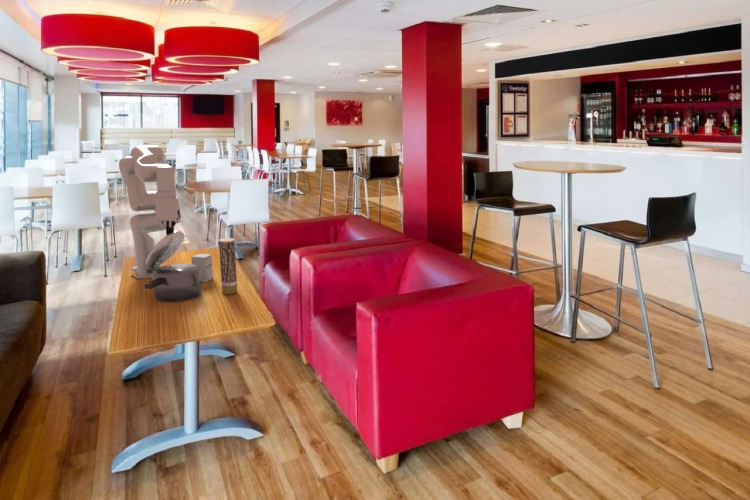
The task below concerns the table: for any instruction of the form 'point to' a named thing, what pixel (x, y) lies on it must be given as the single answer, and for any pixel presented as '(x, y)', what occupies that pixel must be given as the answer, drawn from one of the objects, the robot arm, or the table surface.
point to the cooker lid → (165, 249)
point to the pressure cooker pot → (175, 282)
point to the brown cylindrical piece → (228, 265)
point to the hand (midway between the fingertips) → (170, 235)
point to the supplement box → (204, 266)
